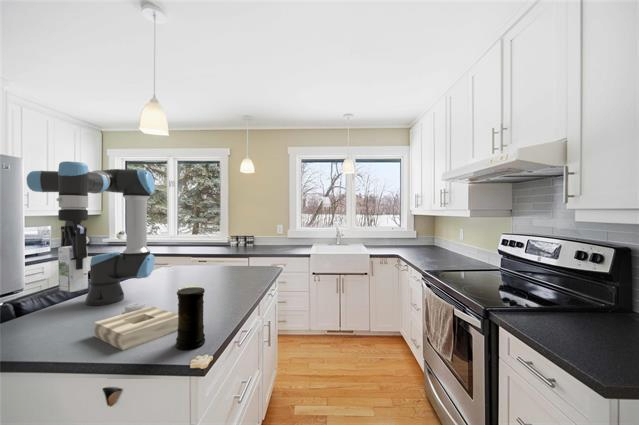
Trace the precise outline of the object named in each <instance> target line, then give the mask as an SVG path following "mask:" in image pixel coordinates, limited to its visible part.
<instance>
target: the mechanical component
mask: <svg viewBox="0 0 639 425" xmlns="http://www.w3.org/2000/svg"><path fill="white" fill-rule="evenodd" d="M144 308H147V303H145V302H134V303H129V304H127V305H126V306H125V307H124V311H122V312H121V315H122V314H126V313H130V312H133V311H137V310H141V309H144Z"/></svg>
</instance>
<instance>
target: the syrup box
mask: <svg viewBox="0 0 639 425" xmlns="http://www.w3.org/2000/svg"><path fill="white" fill-rule="evenodd" d="M57 250H58V253H57V255H58V257H57V258H58V262H57V263H58V291H59V292H65V293H66V292H67V293H72V292H78V291H83V290H86V289H89V276H88V275H89V273H88V271H89V268H88V266H89V264H88V256H87V257H85V258H84V279H77V280H72V260H71V259H72V258H74V255H73V248H72V246H65V247H61V246H60V247H59V246H58V249H57Z"/></svg>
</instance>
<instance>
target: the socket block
mask: <svg viewBox="0 0 639 425" xmlns="http://www.w3.org/2000/svg"><path fill="white" fill-rule="evenodd" d="M93 326H94V332H93V334H94V336H93V337H95V338H97V339H99V340H101V341H103V342H105V343H106V344H109V345H110V346H113V347H115V348H117V349H119V350H121V351H126V350H129V349H131V348H134V347H137V346H139V345H142V344H144V343H148V342H150V341H152V340H153V341H154V340H156V339H158V338H161V337H163V336H166V335H169V334H173V333H174V332H178V331H177V329H178V313H175V312H172V311H168V310H165V309H161V308H158V307H156V306H148V307H146V308H144V309H141V310H137V311H133V312H130V313H126V314H122V313H121V314H119V315H115V316H112V317H108V318H105V319H104V318H103V319H101V320H100V319H99V320H96V321H94V324H93Z"/></svg>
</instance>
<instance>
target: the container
mask: <svg viewBox="0 0 639 425" xmlns="http://www.w3.org/2000/svg"><path fill="white" fill-rule="evenodd" d="M205 291H206V290H205V288H203V287H201V288H200V287H190V288H184V289H180V290H178V289H177V292H176V295H177V301H178V300H179V303H177V306H178V307H177V314H178V329H177V331H176V332H177V337H176V338H175V339H176V340H175V341H176V343H175V347H176V349H177V350H180V351H191V350H196V349H199V348H200V347H202V346H204V344H205V342H206V338H205V337H206V336H205V335H206V334H205V332H204V331H205V330H204V329H205V326H204V303H205V301H204V296H205Z"/></svg>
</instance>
